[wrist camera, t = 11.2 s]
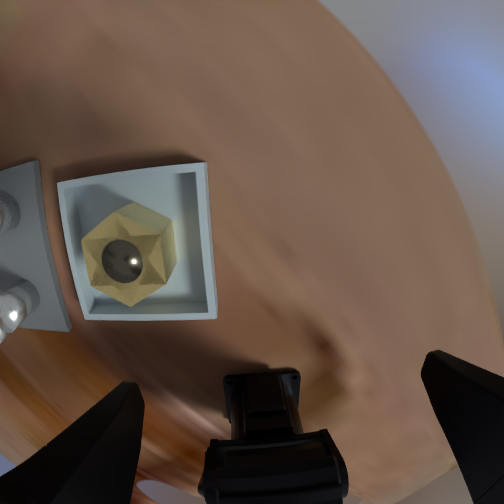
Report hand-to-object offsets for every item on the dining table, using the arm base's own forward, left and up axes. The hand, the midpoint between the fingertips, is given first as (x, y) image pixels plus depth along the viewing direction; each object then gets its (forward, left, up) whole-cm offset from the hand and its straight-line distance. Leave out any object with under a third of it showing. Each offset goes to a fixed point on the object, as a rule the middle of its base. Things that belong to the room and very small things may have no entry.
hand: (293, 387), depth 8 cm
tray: (+1, +8, -13) cm, 15 cm away
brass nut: (+1, +8, -13) cm, 15 cm away
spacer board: (+1, +23, -13) cm, 26 cm away
